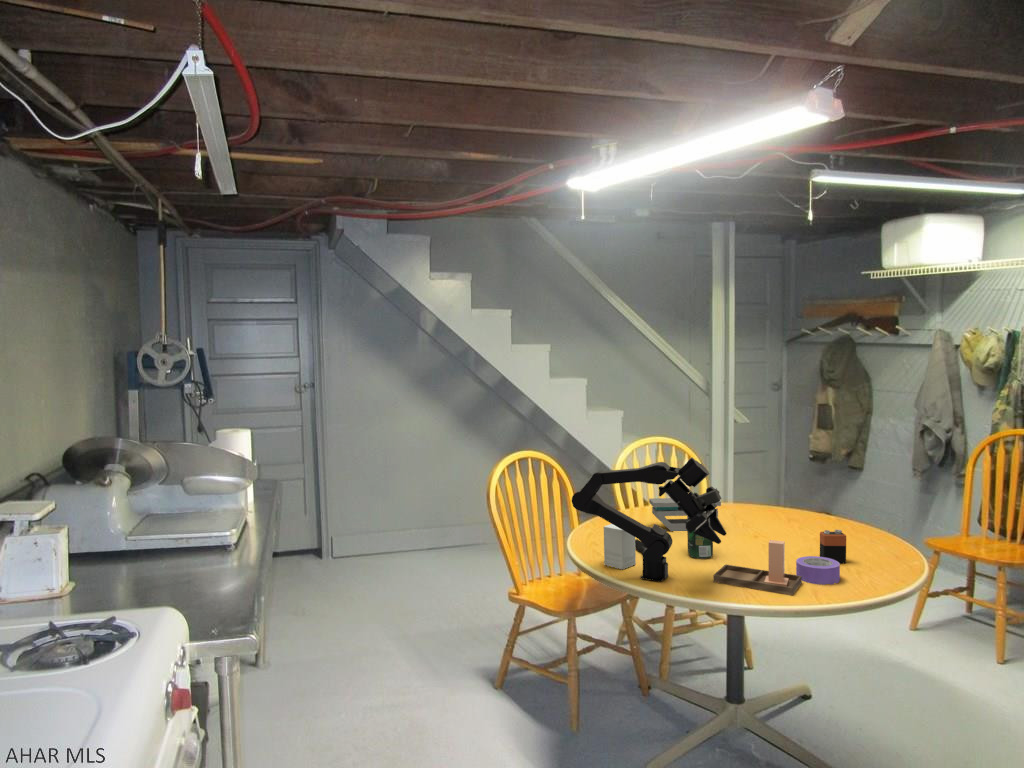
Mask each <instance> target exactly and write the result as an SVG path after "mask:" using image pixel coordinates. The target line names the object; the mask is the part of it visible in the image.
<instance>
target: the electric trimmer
mask: <svg viewBox="0 0 1024 768" xmlns="http://www.w3.org/2000/svg"><path fill="white" fill-rule="evenodd" d="M645 549H646V547H645V546H644V545H643V543H642V542H641V541H640V540H639V539H638V538H635V550H637V552H639V553H641V554H642V553H643V551H644V550H645Z"/></svg>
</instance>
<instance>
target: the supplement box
mask: <svg viewBox="0 0 1024 768" xmlns="http://www.w3.org/2000/svg"><path fill="white" fill-rule="evenodd" d="M635 540H636V537H634V536H632V535H631V534H629V533H627V532H625V531H624V530H622V529H620V528H618V527H617V526H615V525H613V524H611V523H610V524H607V525H604V526H603V557H604V558H603V559H604V560H603V564H604V566H605V565H607V566H606V567H609V566H611V567H610V568H613V567H615V568H614V569H618V568H619V569H618V570H622V569H623V570H625V568H626V569H628V567H629V568H631V567H633V565H634V566H636V565H635V564H637V563H636V561H637V560H636V559H637V557H636V547H635ZM630 566H631V567H630Z"/></svg>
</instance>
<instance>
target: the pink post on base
mask: <svg viewBox="0 0 1024 768" xmlns="http://www.w3.org/2000/svg"><path fill="white" fill-rule="evenodd" d="M785 543H786V541H783V540H772V539H769V541H768V571H769V574H768V576H766V579H765V581H764V583H768V584H774V585H780V586H786V587H787V586H788V582H789V578H784V573H785V565H786V564H785V547H786V545H785Z"/></svg>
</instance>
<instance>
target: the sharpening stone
mask: <svg viewBox="0 0 1024 768" xmlns="http://www.w3.org/2000/svg"><path fill="white" fill-rule="evenodd" d="M648 502H649V504H650V505H651V506H652V507H651V510H652V511H651V513H652V515H654V516H655V518H656V519H657V520H658V521H660V522H661V523H662V524H663V525H664V527H666V528H667V530H669V531H670V532H672V531H687V529H686V523H687V518H666V517H685V516H686V517H687V515H686V514H685V513H684V512H683V510H682V509H681V510H679V509H678V507H679V506H678V505H677V504H676V503H675V502H674V501H673V500H672V499H671V498H670V497H667V498H665V497H663V498H662V497H661V498H658V497H657V498H648ZM715 504H716V505H717V507H722V501H721V500H720V501H719V502H717V503H715ZM716 509H717V508H715V509H713V511H714V510H716ZM717 517H719V509H718V510H717Z"/></svg>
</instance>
